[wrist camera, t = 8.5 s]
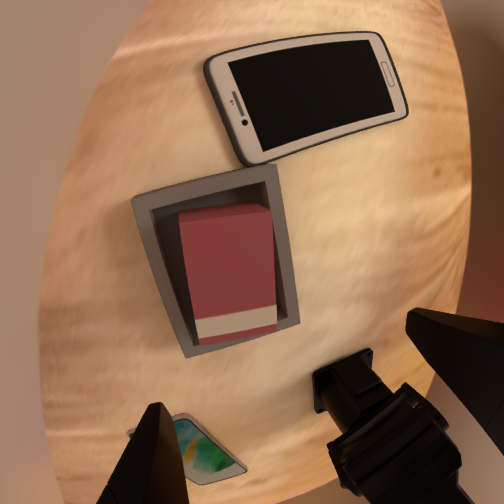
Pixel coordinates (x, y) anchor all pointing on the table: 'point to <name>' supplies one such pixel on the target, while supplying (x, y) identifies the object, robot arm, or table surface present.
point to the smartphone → (203, 453)
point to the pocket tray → (171, 251)
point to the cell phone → (303, 92)
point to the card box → (230, 270)
